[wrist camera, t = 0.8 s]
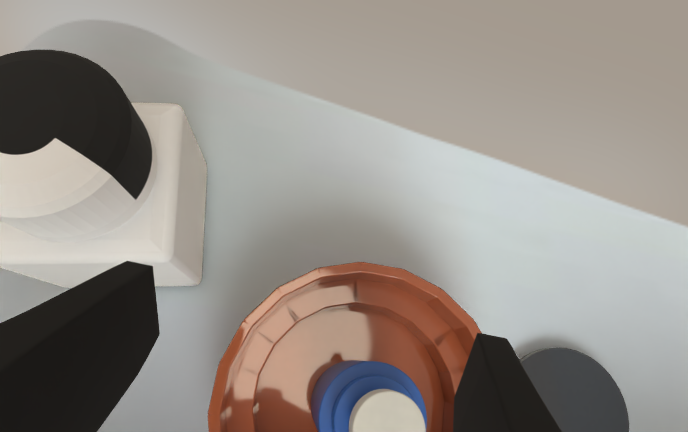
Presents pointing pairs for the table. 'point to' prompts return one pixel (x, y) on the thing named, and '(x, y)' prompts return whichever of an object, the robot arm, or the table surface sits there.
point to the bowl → (340, 345)
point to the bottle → (367, 399)
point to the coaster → (577, 391)
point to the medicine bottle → (94, 176)
